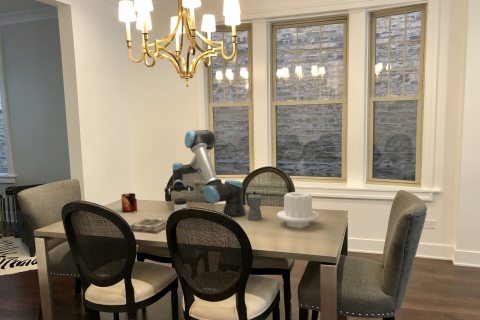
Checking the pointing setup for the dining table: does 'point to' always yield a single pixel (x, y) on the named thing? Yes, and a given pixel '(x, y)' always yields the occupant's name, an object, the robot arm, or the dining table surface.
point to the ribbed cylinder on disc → (297, 209)
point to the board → (149, 225)
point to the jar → (180, 204)
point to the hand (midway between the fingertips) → (179, 191)
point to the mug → (129, 203)
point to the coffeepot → (254, 206)
